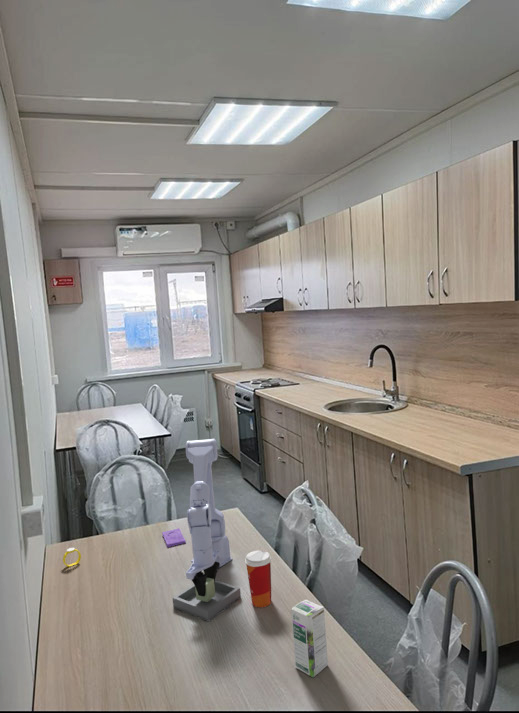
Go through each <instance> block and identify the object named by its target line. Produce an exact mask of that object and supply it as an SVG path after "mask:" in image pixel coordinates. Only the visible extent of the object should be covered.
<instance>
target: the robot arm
mask: <svg viewBox="0 0 519 713" xmlns="http://www.w3.org/2000/svg"><path fill="white" fill-rule="evenodd" d="M185 456H186V459H188V463H190V464H192V466H193V467H192V468H193V479H194V482H193V484H192V485H191V486H190V488H189V489H190V492H189V493H190V494H189V508H188V509H187V512H186V513H187V514H186V515H187V517H186V520H187V524H188V529H189V534H190V536H191V548H192V549H191V550H192V559H191V560H190V562H191V565H190V566H189V569H188V570H187V571H185V577H186V579H187V580H191V583H193V584H194V585H195V587H196V590H197V592H198V595H199V596H203V597H204V596H205V594H206V579H207V578H212V579H214V586H215V580H217V573H218V571H219V569H220V568H221V567H223V566H224V565H226V564H227V563H229V562H230V561H232V560H233V557H231V549H230V540H229V537H228V536H227V535H226V521H225V520H226V519H225V517H224V513H223V512H222V511H221V510H219V509H217V508H216V504H215V495H214V494H215V493H214V491H215V490H214V482H213V480H214V479H213V472H212V470H213V469H212V465H213V462H215V461H217V460H218V442H217V440H216V438H208V439H197V440H196V439H194V440H187V441H186V442H185Z"/></svg>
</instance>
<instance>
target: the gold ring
mask: <svg viewBox="0 0 519 713" xmlns="http://www.w3.org/2000/svg"><path fill="white" fill-rule="evenodd" d="M74 552H77V554H78V557H77V560H76V561H75V562H74V563H73V562H72V563H71V564H67V563H66V558H67V556H68V555H69V554H71V553H74ZM81 558H82V554H81V551H79V550H78V549H76V548H75V547H69V548H67V549H66V552H64V553H63V557H62V562H63V564H64V565H65V566H66V567H68V568H70V566H71V567H74V566H76V565H78V564H79V563H80V562H81ZM73 565H74V566H73Z"/></svg>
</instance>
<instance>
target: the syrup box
mask: <svg viewBox="0 0 519 713" xmlns="http://www.w3.org/2000/svg"><path fill="white" fill-rule="evenodd" d="M290 612H291V615H290V616H291V625H292V638H293V640H292V641H293V653H294V666H295V669H298V670H299V671H301V672H303V673H305V674H306V675H308V676H309V677H312V678H315V677H316V676H317V675H318V674H319V673H320V672H322V671H323V670H324V669H325V668H326V667H328V666H329V664H328V663H329V661H328V647H327V646H328V645H327V644H328V643H327V632H326V631H327V630H326V617H325V607H324V606H323V605H320V604H317V603H315V602H313V601H311V600H310V599H309V600H308V599H304V600H301V601H300V602H298V603H297V604H296V605H294V606H293V607H292V608H291V611H290Z"/></svg>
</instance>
